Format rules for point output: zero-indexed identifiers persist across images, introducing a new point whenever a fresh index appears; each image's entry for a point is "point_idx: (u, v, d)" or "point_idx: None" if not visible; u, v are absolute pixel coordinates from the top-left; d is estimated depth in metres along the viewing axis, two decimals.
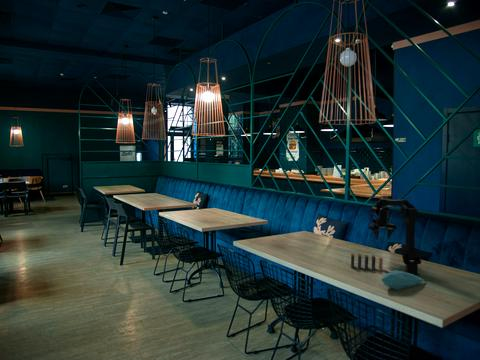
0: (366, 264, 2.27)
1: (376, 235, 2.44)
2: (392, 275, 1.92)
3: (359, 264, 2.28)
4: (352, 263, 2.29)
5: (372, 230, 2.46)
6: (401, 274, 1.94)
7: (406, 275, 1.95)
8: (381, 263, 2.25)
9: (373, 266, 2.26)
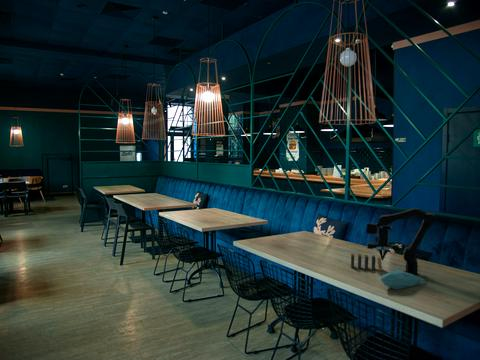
0: (366, 264, 2.27)
1: (380, 255, 2.26)
2: (391, 275, 1.92)
3: (359, 264, 2.28)
4: (352, 263, 2.29)
5: None
6: (401, 274, 1.94)
7: (406, 275, 1.95)
8: (380, 263, 2.25)
9: (373, 266, 2.26)
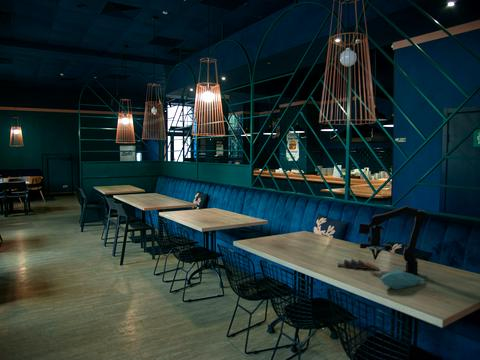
0: (358, 266, 2.28)
1: (373, 255, 2.27)
2: (391, 275, 1.92)
3: (352, 266, 2.29)
4: (345, 267, 2.31)
5: None
6: (401, 274, 1.94)
7: (406, 275, 1.95)
8: (371, 265, 2.27)
9: (367, 267, 2.27)
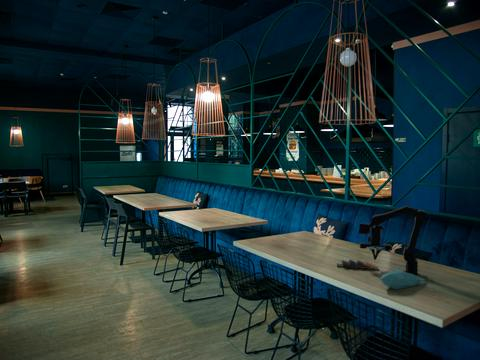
0: (357, 266, 2.28)
1: (373, 255, 2.27)
2: (391, 275, 1.92)
3: (351, 266, 2.29)
4: (345, 267, 2.30)
5: None
6: (400, 274, 1.94)
7: (406, 275, 1.96)
8: (371, 265, 2.27)
9: (366, 267, 2.27)
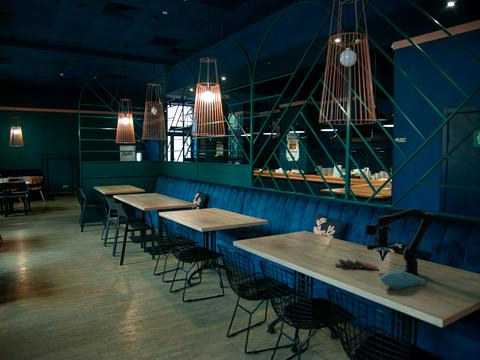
0: (355, 266, 2.28)
1: (381, 256, 2.26)
2: (391, 275, 1.92)
3: (348, 265, 2.29)
4: (343, 267, 2.30)
5: None
6: (400, 274, 1.94)
7: (406, 275, 1.96)
8: (370, 266, 2.27)
9: (365, 267, 2.28)
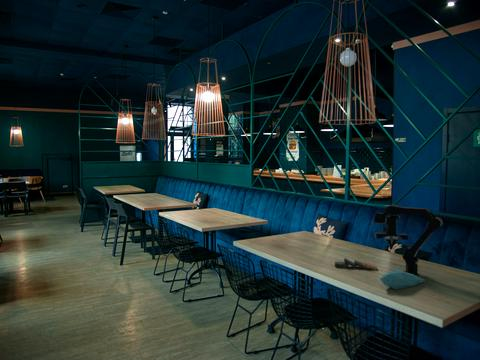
0: (351, 265, 2.29)
1: (389, 244, 2.26)
2: (391, 275, 1.92)
3: (344, 265, 2.30)
4: (342, 267, 2.31)
5: None
6: (400, 274, 1.94)
7: (406, 275, 1.96)
8: (369, 266, 2.27)
9: (363, 267, 2.28)
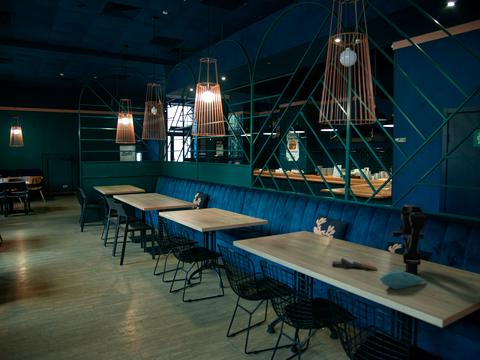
0: (348, 265, 2.30)
1: (405, 243, 2.34)
2: (390, 275, 1.92)
3: (340, 265, 2.31)
4: None
5: None
6: (400, 274, 1.94)
7: (405, 275, 1.96)
8: (368, 266, 2.27)
9: (362, 267, 2.28)
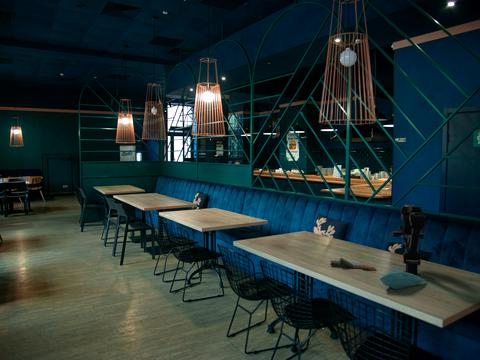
0: (347, 264, 2.30)
1: (405, 243, 2.34)
2: (390, 274, 1.92)
3: (339, 264, 2.31)
4: (342, 267, 2.31)
5: None
6: (400, 274, 1.94)
7: (405, 275, 1.96)
8: (367, 267, 2.27)
9: None
